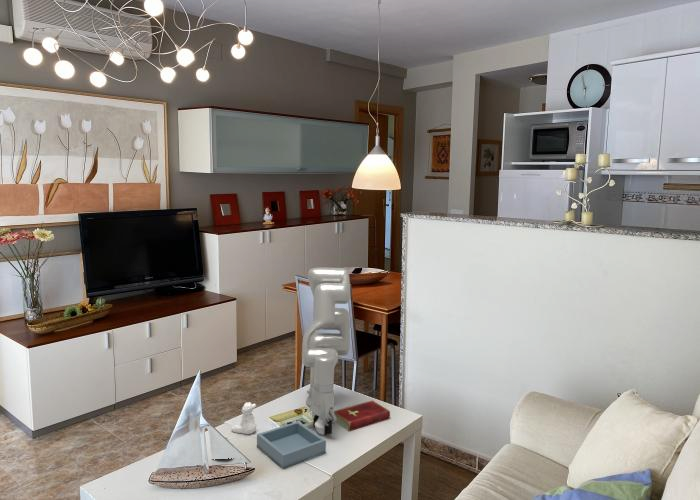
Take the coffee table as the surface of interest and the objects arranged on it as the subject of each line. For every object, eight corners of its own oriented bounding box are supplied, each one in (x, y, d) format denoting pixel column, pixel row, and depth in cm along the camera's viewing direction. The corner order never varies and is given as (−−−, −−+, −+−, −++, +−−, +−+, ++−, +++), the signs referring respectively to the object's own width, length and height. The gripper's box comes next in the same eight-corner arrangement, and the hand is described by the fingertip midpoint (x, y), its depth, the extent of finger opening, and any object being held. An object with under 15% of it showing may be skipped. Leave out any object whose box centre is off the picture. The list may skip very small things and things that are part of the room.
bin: (256, 447, 197) (257, 434, 196) (297, 433, 208) (298, 421, 207) (282, 469, 183) (283, 455, 182) (325, 453, 194) (325, 440, 193)
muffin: (324, 438, 205) (324, 421, 204) (311, 433, 208) (311, 416, 207) (333, 431, 210) (333, 415, 209) (320, 427, 213) (320, 410, 212)
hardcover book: (389, 419, 223) (390, 410, 223) (348, 432, 211) (349, 422, 210) (372, 408, 233) (372, 399, 232) (331, 420, 221) (332, 410, 220)
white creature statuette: (249, 423, 215) (249, 394, 213) (263, 430, 209) (264, 401, 208) (230, 431, 208) (230, 402, 206) (244, 439, 202) (244, 409, 200)
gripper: (303, 381, 211) (301, 424, 213) (329, 396, 197) (327, 442, 200) (318, 377, 215) (317, 419, 218) (345, 392, 202) (343, 436, 205)
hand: (322, 429), depth 209 cm, fingers open, 6 cm apart
